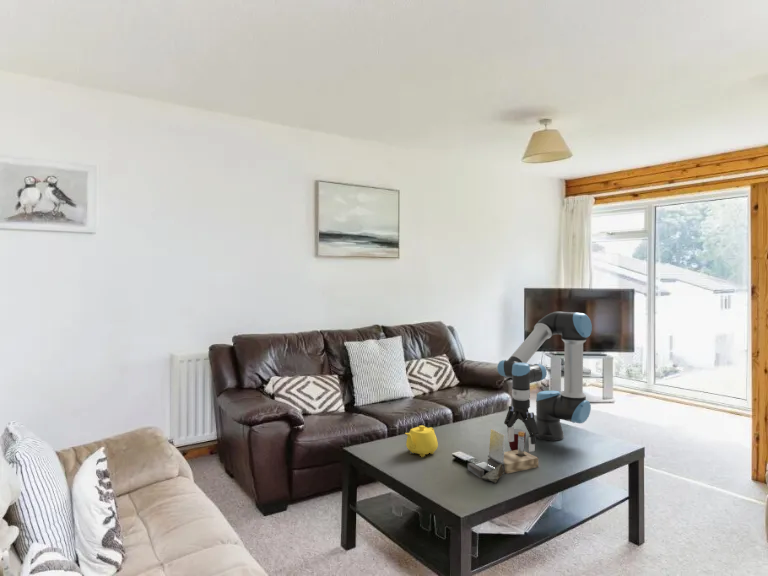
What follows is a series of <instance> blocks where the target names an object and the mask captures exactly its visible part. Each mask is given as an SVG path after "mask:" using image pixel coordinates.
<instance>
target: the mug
mask: <svg viewBox="0 0 768 576" xmlns="http://www.w3.org/2000/svg"><path fill="white" fill-rule="evenodd" d="M520 431H521V432H524V449H525V445H526V444H525V443H526V440H527V439H526V438H527V435H526V433H527V431H525V430H524V429H520V428H514V441H513V442H508V444H509V448H510V451H513V450H518V432H520Z"/></svg>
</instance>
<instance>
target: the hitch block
mask: <svg viewBox="0 0 768 576" xmlns="http://www.w3.org/2000/svg"><path fill="white" fill-rule="evenodd" d="M504 463H505V464H504V465H502V464H501V465H502V467H503V474H511V473H516V472H521V471H526V470H532V469H535V468H539V457H537V456H536V455H534V454H531V453H530V452H527V451H525V450H524V456H523V457H519V456H518V450H513V451H511V450H508V451H504ZM488 464H489V465H491V466H493V467H495V468H496V467H498V466H499V465H500V463H498V462H496V461H494V460H492V459H490V458H489V457H488V458H487V465H488ZM467 471H469V472H470V473H472V474H473V475H475V476H476V477H478V478H481V479H482V477H483V476H484V475H485V470H484V469H483V468H481V466H478V465H476V464H474V463H473V462H467Z"/></svg>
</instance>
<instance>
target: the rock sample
mask: <svg viewBox="0 0 768 576" xmlns="http://www.w3.org/2000/svg"><path fill="white" fill-rule="evenodd" d="M502 476H504V473H503V467H502V465H501V464H500V465H499V466H498V467H496V468H495V469H493V470H489V471H488V472H486V473H484V476H483V477H481V479H483V480H484V481H491V482H493V483H494V484H497V482H498V481H499V479H500V478H501V477H502Z"/></svg>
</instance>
